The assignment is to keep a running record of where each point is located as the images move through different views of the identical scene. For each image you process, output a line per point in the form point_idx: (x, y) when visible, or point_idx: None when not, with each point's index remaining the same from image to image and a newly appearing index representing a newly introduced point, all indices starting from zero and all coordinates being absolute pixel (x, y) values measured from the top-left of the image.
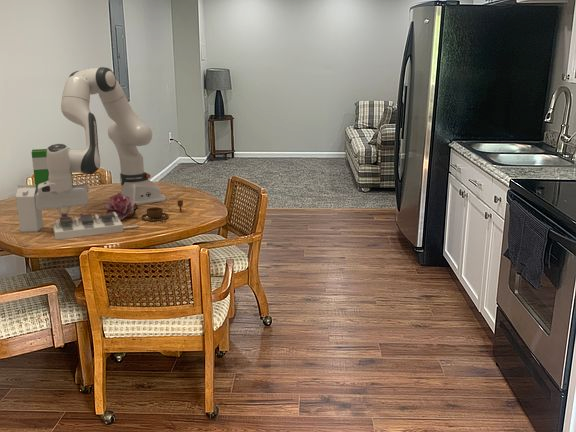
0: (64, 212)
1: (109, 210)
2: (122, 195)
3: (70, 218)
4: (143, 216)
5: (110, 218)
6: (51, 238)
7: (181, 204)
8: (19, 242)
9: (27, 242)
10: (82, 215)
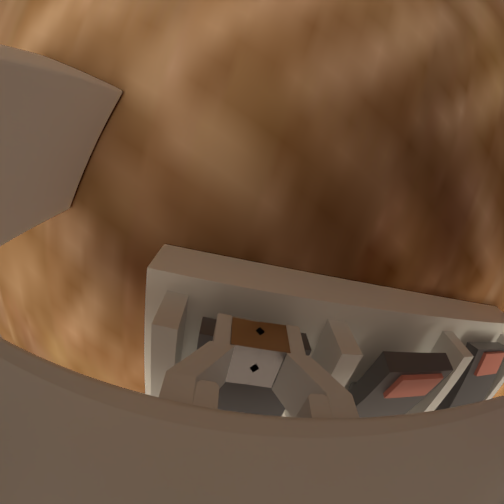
0: (265, 352)
1: None
2: None
3: (279, 400)
4: None
5: (489, 340)
6: (137, 374)
7: None
8: (18, 333)
9: (44, 355)
10: (384, 391)
